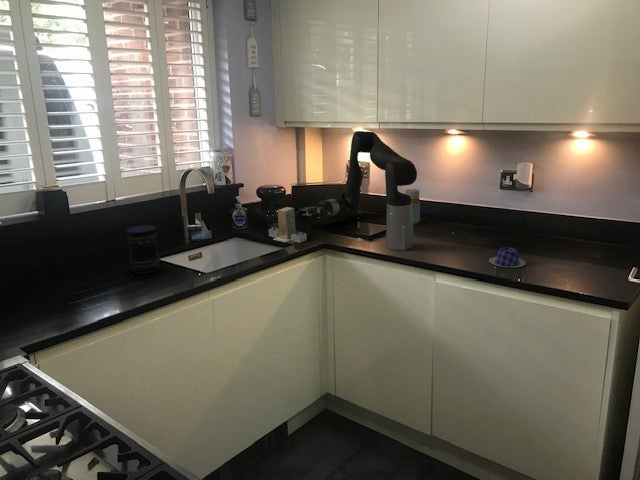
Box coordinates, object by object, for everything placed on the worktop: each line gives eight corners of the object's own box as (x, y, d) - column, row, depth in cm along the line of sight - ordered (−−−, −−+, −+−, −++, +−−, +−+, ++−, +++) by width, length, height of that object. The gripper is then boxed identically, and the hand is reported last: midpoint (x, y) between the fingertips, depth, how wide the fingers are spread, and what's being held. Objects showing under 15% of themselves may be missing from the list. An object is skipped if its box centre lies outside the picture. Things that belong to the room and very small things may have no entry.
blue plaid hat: (533, 266, 187) (534, 251, 185) (504, 271, 183) (505, 256, 181) (509, 256, 197) (510, 242, 196) (481, 261, 193) (482, 247, 192)
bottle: (402, 224, 245) (403, 191, 240) (405, 221, 251) (405, 188, 247) (418, 225, 243) (419, 192, 238) (420, 221, 249) (421, 189, 245)
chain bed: (306, 240, 225) (306, 232, 224) (300, 242, 222) (300, 234, 221) (275, 234, 236) (274, 225, 235) (268, 236, 233) (268, 227, 232)
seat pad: (301, 236, 231) (301, 235, 230) (285, 242, 223) (285, 241, 223) (289, 234, 235) (289, 233, 235) (273, 239, 228) (273, 238, 227)
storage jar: (126, 269, 196) (121, 229, 192) (152, 262, 203) (147, 223, 199) (140, 275, 189) (134, 233, 185) (165, 268, 196) (160, 228, 192)
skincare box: (287, 234, 233) (286, 206, 229) (296, 236, 230) (294, 207, 227) (278, 238, 228) (277, 209, 224) (287, 239, 225) (285, 210, 222)
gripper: (315, 198, 250) (291, 205, 238) (339, 202, 241) (315, 209, 229) (315, 214, 252) (291, 221, 240) (339, 218, 243) (316, 226, 231)
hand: (303, 215), depth 235 cm, fingers open, 8 cm apart
